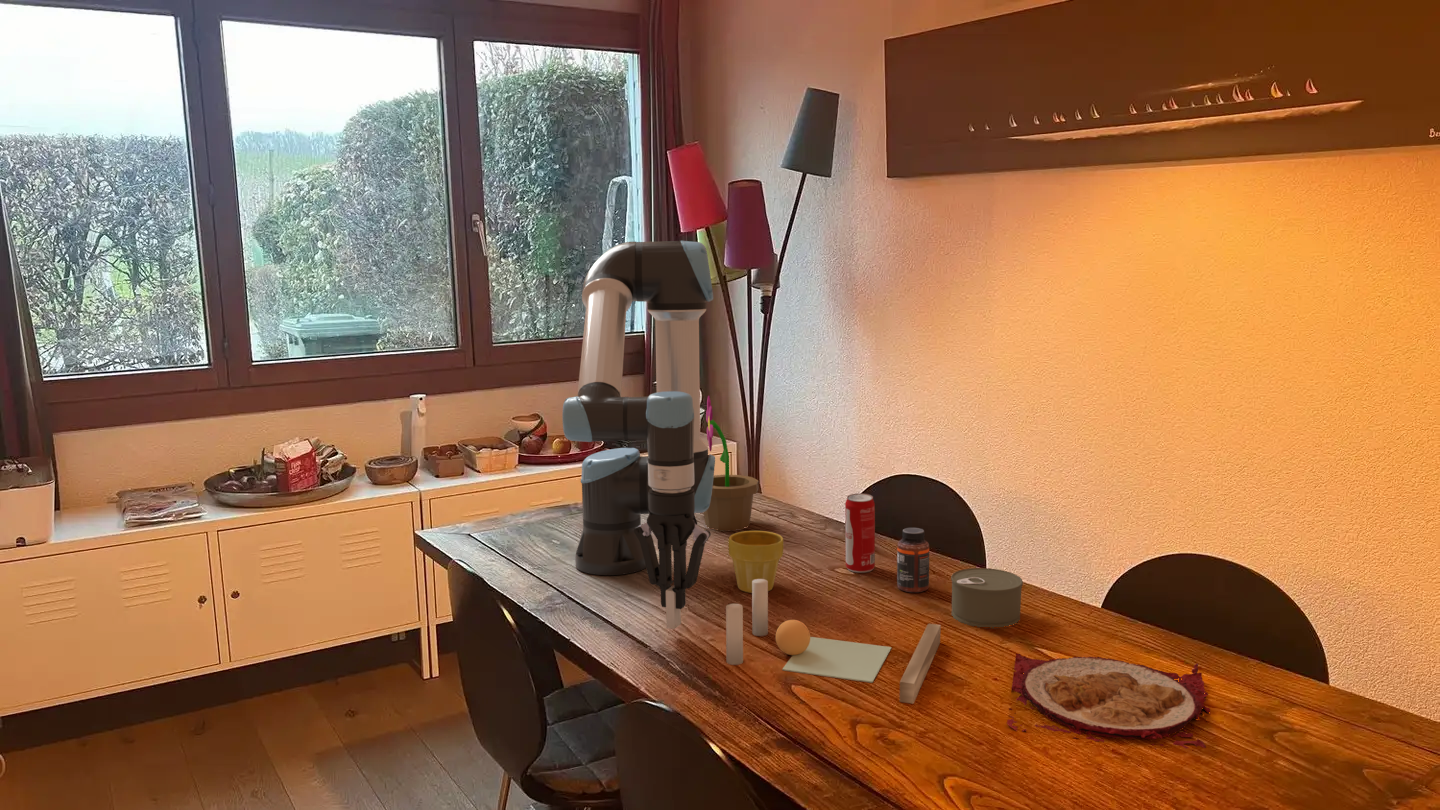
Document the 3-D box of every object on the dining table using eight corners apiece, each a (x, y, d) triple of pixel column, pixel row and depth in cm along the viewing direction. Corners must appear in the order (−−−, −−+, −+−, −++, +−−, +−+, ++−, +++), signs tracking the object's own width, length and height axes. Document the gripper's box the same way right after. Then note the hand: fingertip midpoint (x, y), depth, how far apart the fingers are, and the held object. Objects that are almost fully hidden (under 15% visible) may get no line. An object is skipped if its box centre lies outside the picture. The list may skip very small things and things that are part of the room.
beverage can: (874, 564, 212) (875, 492, 210) (875, 574, 206) (876, 500, 204) (844, 563, 213) (845, 491, 211) (844, 574, 207) (845, 499, 204)
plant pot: (789, 581, 203) (789, 532, 201) (774, 599, 193) (774, 547, 191) (738, 576, 206) (738, 528, 204) (721, 593, 196) (720, 542, 195)
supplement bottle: (932, 585, 199) (933, 527, 198) (924, 595, 194) (925, 536, 192) (901, 581, 202) (902, 524, 200) (892, 591, 197) (893, 532, 195)
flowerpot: (693, 518, 249) (692, 392, 244) (754, 515, 250) (753, 390, 245) (699, 534, 235) (697, 401, 230) (763, 532, 236) (762, 400, 231)
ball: (780, 619, 165) (809, 641, 163) (792, 608, 170) (820, 628, 168) (764, 646, 167) (793, 667, 165) (776, 633, 171) (804, 654, 170)
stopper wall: (899, 701, 150) (899, 681, 150) (927, 641, 172) (928, 623, 172) (913, 703, 150) (913, 683, 149) (940, 642, 172) (940, 624, 171)
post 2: (750, 634, 176) (749, 583, 174) (755, 629, 178) (754, 578, 177) (765, 636, 175) (764, 584, 173) (769, 631, 177) (769, 579, 176)
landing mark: (782, 670, 162) (782, 668, 161) (807, 637, 174) (807, 636, 174) (872, 682, 157) (872, 681, 157) (891, 648, 170) (891, 647, 170)
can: (1035, 624, 179) (1036, 586, 178) (971, 632, 176) (973, 593, 175) (998, 601, 191) (999, 565, 190) (938, 608, 188) (938, 571, 187)
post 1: (724, 663, 164) (723, 608, 163) (729, 657, 167) (729, 602, 165) (739, 665, 163) (739, 610, 162) (745, 659, 166) (744, 604, 164)
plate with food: (1015, 665, 165) (1016, 643, 164) (1201, 682, 156) (1202, 659, 156) (1005, 738, 142) (1006, 713, 141) (1222, 763, 133) (1223, 736, 133)
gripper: (624, 489, 170) (628, 629, 174) (700, 496, 165) (701, 639, 169) (644, 479, 177) (647, 613, 181) (716, 485, 172) (718, 623, 176)
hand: (673, 625), depth 175 cm, fingers closed
